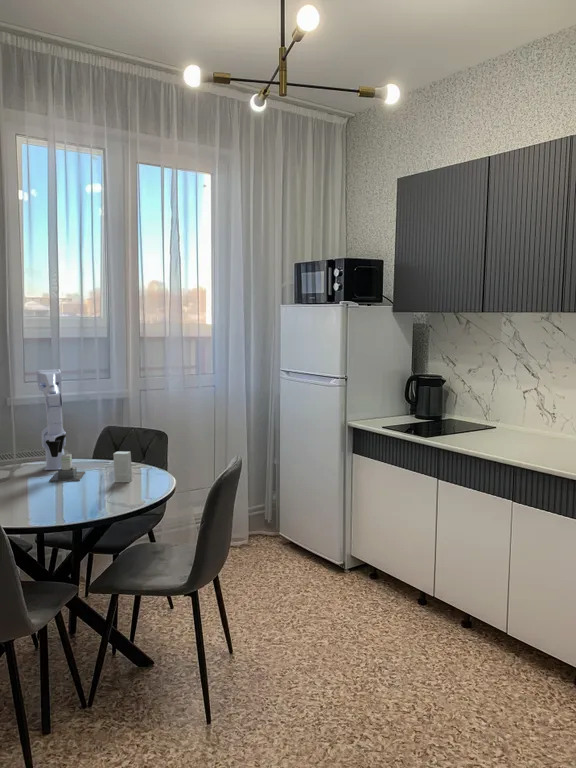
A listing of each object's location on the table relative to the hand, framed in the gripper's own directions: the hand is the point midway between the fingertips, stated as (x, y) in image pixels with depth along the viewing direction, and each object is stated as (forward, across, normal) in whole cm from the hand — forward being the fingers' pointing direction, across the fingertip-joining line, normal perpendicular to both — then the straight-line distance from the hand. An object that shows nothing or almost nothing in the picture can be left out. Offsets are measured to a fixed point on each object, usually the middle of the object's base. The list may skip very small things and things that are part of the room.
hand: (56, 454), depth 257 cm
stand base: (+10, -1, -4) cm, 11 cm away
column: (+7, -1, -4) cm, 8 cm away
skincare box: (+10, -10, -28) cm, 31 cm away
